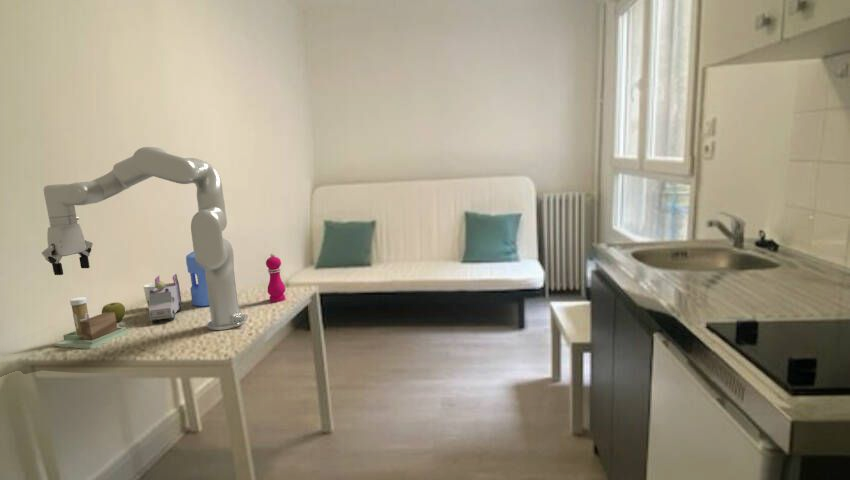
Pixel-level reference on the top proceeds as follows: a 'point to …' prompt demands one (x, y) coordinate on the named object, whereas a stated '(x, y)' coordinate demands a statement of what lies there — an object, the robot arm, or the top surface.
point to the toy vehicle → (164, 300)
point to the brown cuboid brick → (98, 326)
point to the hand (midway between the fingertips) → (72, 271)
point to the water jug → (200, 289)
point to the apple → (115, 310)
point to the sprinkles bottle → (79, 312)
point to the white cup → (147, 290)
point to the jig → (78, 341)
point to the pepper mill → (275, 279)
